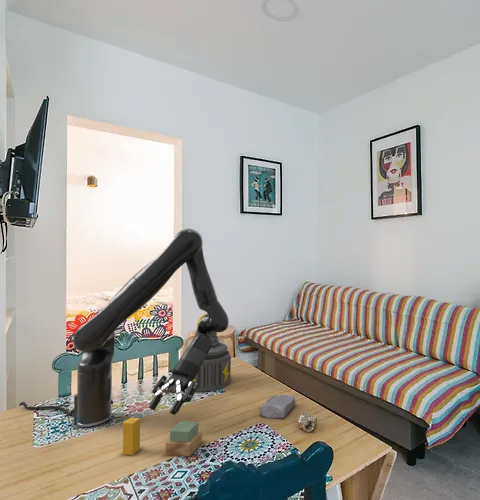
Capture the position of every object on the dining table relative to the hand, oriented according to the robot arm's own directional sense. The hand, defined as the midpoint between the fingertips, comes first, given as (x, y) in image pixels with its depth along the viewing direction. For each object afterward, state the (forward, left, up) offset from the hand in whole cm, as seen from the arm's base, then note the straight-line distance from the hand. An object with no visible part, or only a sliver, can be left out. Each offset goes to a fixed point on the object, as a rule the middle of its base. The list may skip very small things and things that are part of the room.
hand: (161, 411), depth 109 cm
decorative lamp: (-5, +39, -7) cm, 40 cm away
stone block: (+31, +19, -7) cm, 38 cm away
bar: (-3, -10, -7) cm, 12 cm away
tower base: (+11, -7, -7) cm, 15 cm away
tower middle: (+11, -7, -3) cm, 14 cm away
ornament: (+44, +9, -7) cm, 46 cm away
